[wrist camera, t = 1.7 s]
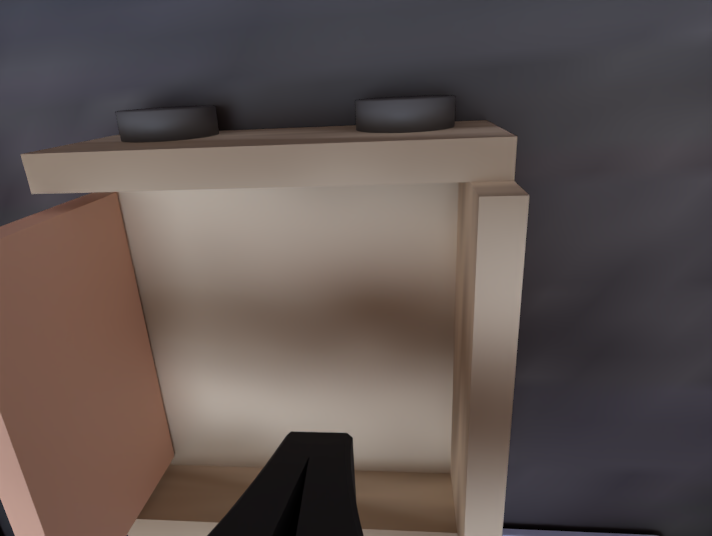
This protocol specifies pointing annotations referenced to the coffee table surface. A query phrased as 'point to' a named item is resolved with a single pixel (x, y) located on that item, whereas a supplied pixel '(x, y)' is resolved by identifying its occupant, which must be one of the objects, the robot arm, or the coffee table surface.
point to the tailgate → (76, 376)
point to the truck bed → (322, 301)
